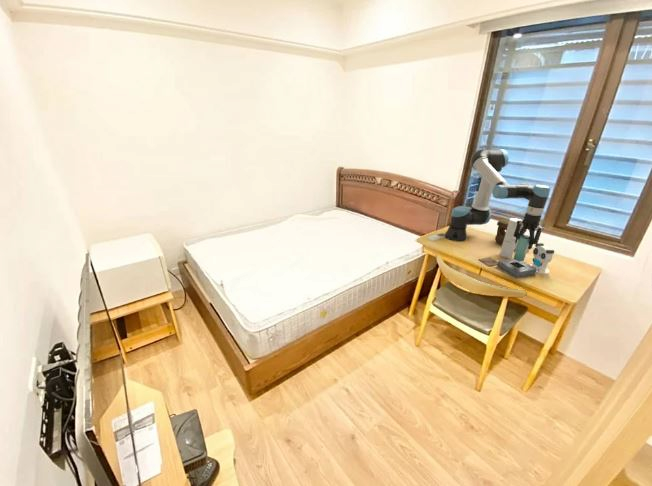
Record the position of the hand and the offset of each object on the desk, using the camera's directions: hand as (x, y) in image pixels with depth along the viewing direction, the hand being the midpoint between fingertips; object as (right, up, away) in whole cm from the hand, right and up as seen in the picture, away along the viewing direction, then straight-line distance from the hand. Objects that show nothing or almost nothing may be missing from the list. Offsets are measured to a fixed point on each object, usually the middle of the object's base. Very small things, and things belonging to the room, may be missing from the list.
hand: (521, 251), depth 171 cm
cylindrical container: (+6, -4, +24) cm, 25 cm away
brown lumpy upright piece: (+16, +3, +37) cm, 41 cm away
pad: (-10, -7, +15) cm, 20 cm away
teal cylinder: (0, -5, +2) cm, 5 cm away
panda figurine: (+15, -11, +7) cm, 20 cm away
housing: (0, -12, +5) cm, 13 cm away
